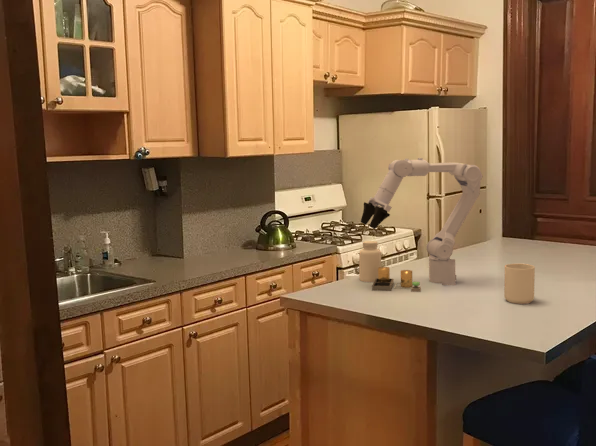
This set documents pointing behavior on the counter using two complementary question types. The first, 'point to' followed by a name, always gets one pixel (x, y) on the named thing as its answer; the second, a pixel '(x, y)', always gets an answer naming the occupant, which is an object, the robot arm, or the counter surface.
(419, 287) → the button housing
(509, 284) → the mug
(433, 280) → the robot arm
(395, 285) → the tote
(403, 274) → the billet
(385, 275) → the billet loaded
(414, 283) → the button
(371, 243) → the pill bottle
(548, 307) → the counter surface
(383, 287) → the crate
